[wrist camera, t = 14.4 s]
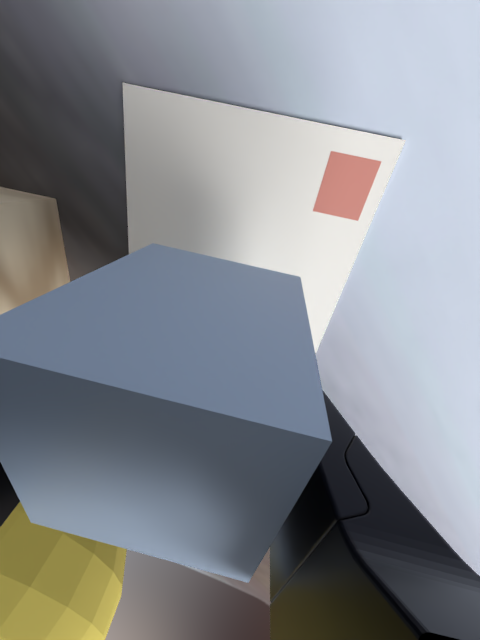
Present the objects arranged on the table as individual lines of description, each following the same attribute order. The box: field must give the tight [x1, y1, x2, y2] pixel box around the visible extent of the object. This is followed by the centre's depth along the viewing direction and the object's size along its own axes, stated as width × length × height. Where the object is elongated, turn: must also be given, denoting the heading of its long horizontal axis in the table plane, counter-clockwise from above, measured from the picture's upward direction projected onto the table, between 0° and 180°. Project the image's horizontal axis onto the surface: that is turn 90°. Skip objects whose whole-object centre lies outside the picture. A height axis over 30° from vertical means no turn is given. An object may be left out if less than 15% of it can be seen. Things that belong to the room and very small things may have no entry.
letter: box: [122, 83, 406, 354], centre depth 12 cm, size 14×10×1 cm
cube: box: [0, 243, 332, 582], centre depth 7 cm, size 5×5×6 cm
